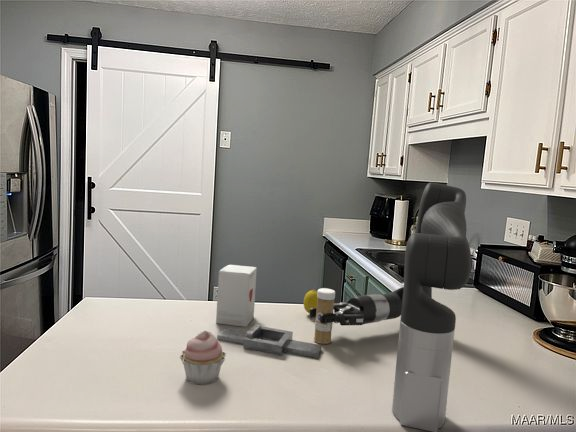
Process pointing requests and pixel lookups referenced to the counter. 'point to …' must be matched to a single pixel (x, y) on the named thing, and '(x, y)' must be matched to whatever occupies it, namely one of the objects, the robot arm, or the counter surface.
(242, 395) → the counter surface
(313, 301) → the lemon
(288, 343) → the grey frame base plate
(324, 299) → the sprinkles bottle
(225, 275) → the supplement box
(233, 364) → the counter surface
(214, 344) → the cupcake
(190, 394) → the counter surface
